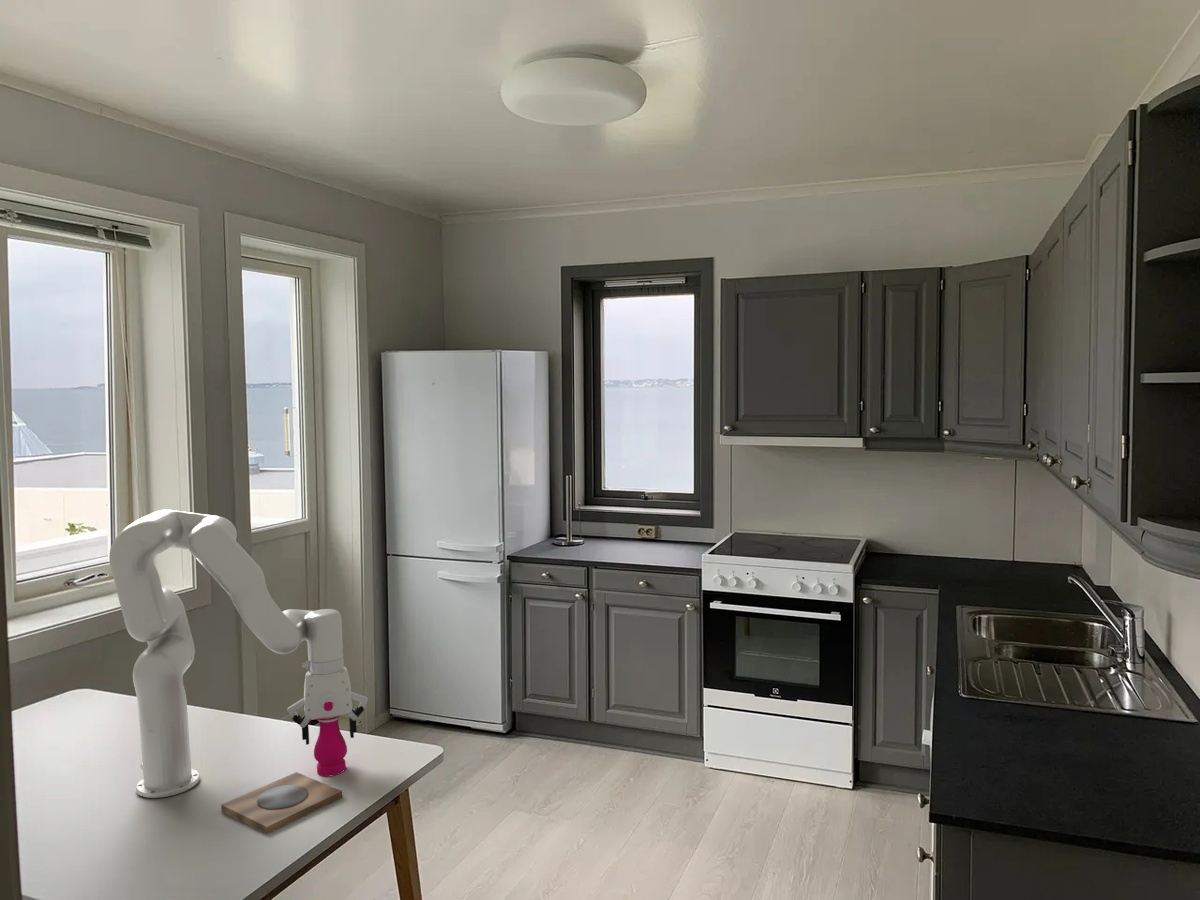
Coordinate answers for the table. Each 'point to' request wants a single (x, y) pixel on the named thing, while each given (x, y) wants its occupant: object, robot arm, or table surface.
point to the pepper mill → (330, 746)
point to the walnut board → (281, 802)
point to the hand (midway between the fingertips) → (329, 738)
